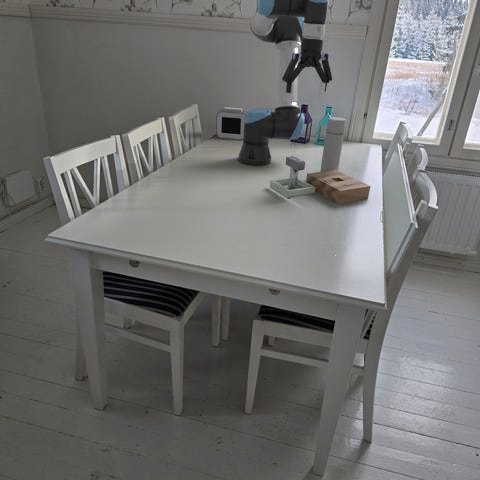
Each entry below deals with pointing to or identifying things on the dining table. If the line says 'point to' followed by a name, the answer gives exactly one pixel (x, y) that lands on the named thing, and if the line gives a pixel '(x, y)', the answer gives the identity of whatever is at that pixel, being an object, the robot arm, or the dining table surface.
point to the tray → (285, 192)
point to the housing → (338, 186)
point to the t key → (294, 170)
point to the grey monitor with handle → (230, 123)
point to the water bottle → (333, 144)
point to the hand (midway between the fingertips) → (305, 101)
